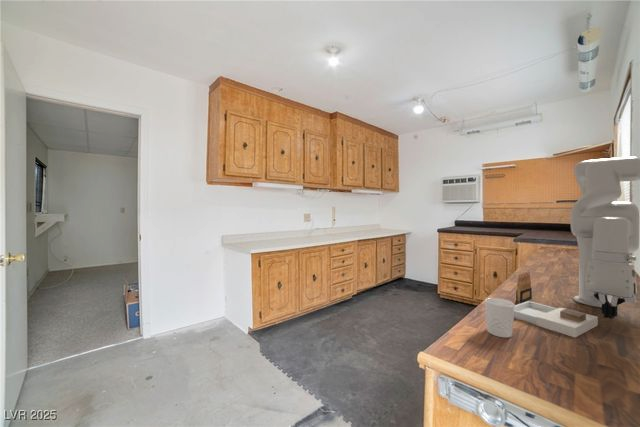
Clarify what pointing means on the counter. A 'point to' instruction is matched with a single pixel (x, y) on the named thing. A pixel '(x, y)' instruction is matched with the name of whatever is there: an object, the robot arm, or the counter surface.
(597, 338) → the counter surface
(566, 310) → the walnut tile
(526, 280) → the ammunition clip
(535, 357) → the counter surface
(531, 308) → the box
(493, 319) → the white cup
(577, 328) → the platform
